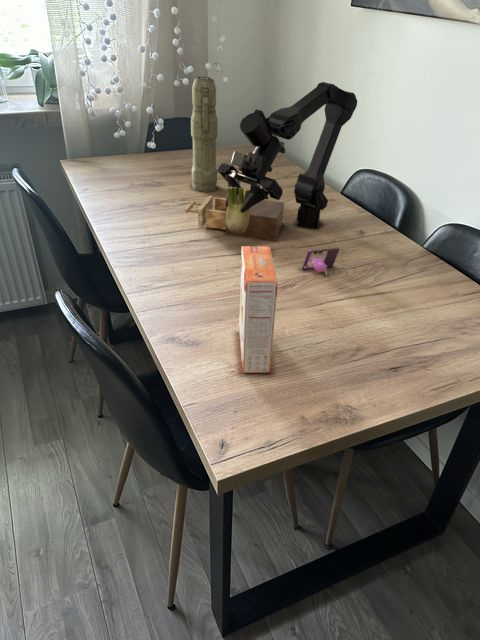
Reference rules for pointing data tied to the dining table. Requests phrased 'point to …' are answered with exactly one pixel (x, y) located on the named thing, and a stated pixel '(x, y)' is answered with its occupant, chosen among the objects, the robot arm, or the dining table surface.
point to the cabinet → (263, 220)
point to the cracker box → (257, 308)
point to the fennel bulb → (237, 211)
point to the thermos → (204, 134)
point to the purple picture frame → (321, 263)
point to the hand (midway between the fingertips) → (233, 209)
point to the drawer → (210, 213)
